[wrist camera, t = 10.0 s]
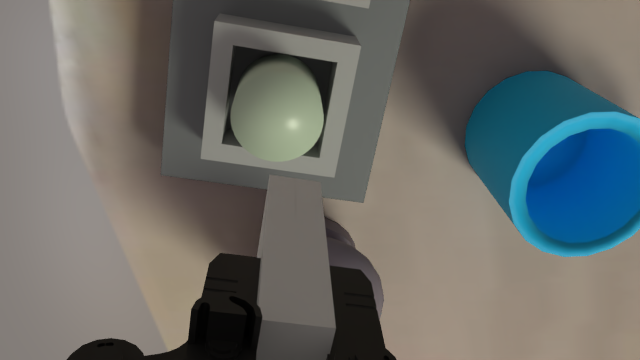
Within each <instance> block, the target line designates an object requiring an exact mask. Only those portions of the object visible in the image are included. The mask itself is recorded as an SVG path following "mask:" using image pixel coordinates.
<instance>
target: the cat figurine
mask: <svg viewBox="0 0 640 360" xmlns="http://www.w3.org/2000/svg"><path fill="white" fill-rule="evenodd" d="M324 220H325V229H326V239H327V248H328V258H329V265H330V266H338V267H346V268H353V269H361V270H362V272H363V273H364V274H365V275H366V276H367V278H368V279H369V280H370V281H371V283H372V288H373V293H374V299H375V302H376V307H377V308H376V310H377V311H378V316H379V319H380V316H381V311H382V307H383V302H384V295H383V290H382V285H381V280H380V277H379V275H378V273H377V272H376V270H375V269H374V267H373V266H372V264H371V262H370V261H369V259H367V258H366V257H365V256H364V255H363V254H361V253H360V252H359V251H358V250H356V248H355V243H354V242H353V240H352V238H351V236H350V235H349V233H348V232H347V231H346V230H345V229H344V228H343V227H341V226H340V225H339V224H338V223H336V222H333V221H331V220H328V219H326V218H324Z"/></svg>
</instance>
